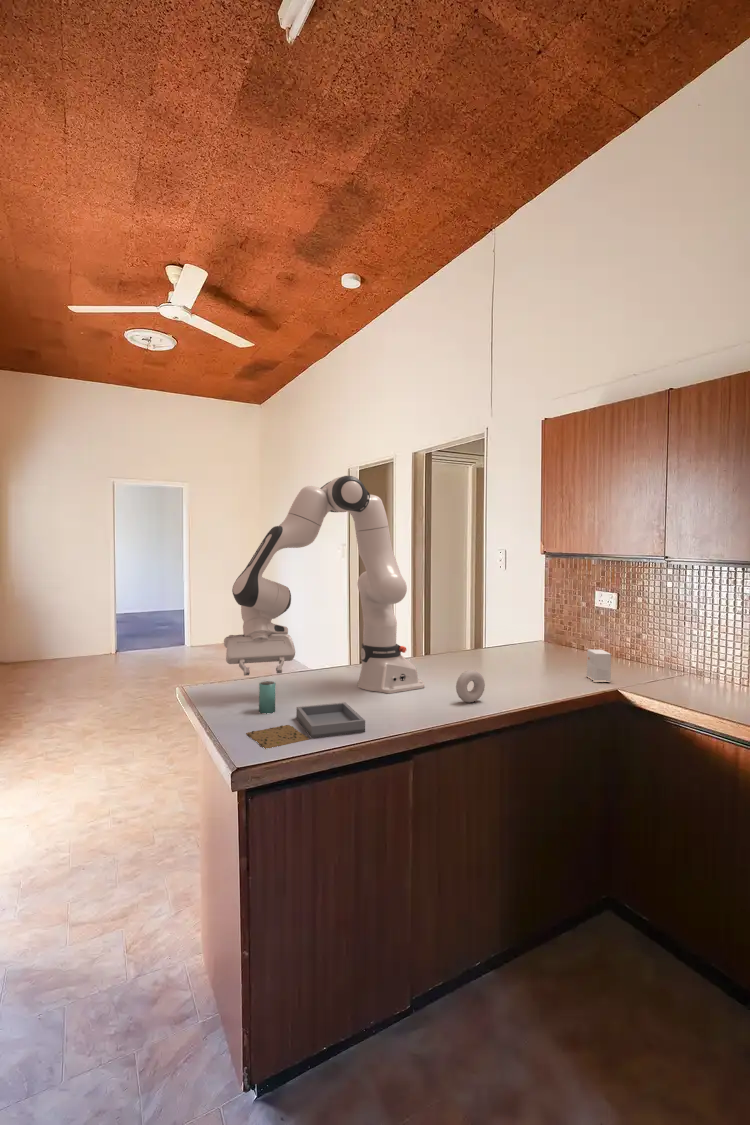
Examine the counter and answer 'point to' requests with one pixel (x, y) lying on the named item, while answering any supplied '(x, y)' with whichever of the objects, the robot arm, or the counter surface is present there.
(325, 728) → the tray
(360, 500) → the robot arm
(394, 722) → the counter surface
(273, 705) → the cup
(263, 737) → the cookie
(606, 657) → the small box
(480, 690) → the donut
